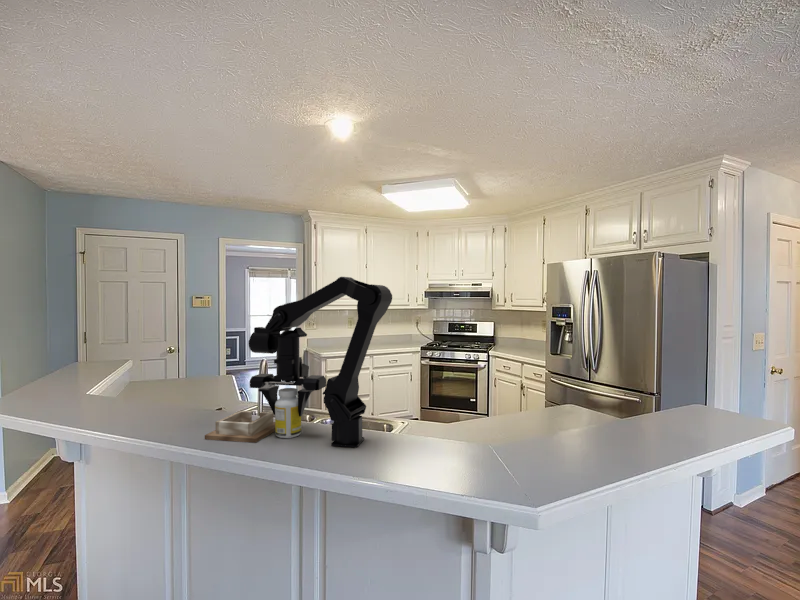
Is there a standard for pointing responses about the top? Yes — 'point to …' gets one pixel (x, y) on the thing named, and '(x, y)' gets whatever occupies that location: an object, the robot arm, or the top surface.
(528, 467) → the top surface
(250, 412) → the pocket tray
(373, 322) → the robot arm
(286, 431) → the pill bottle
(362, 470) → the top surface
